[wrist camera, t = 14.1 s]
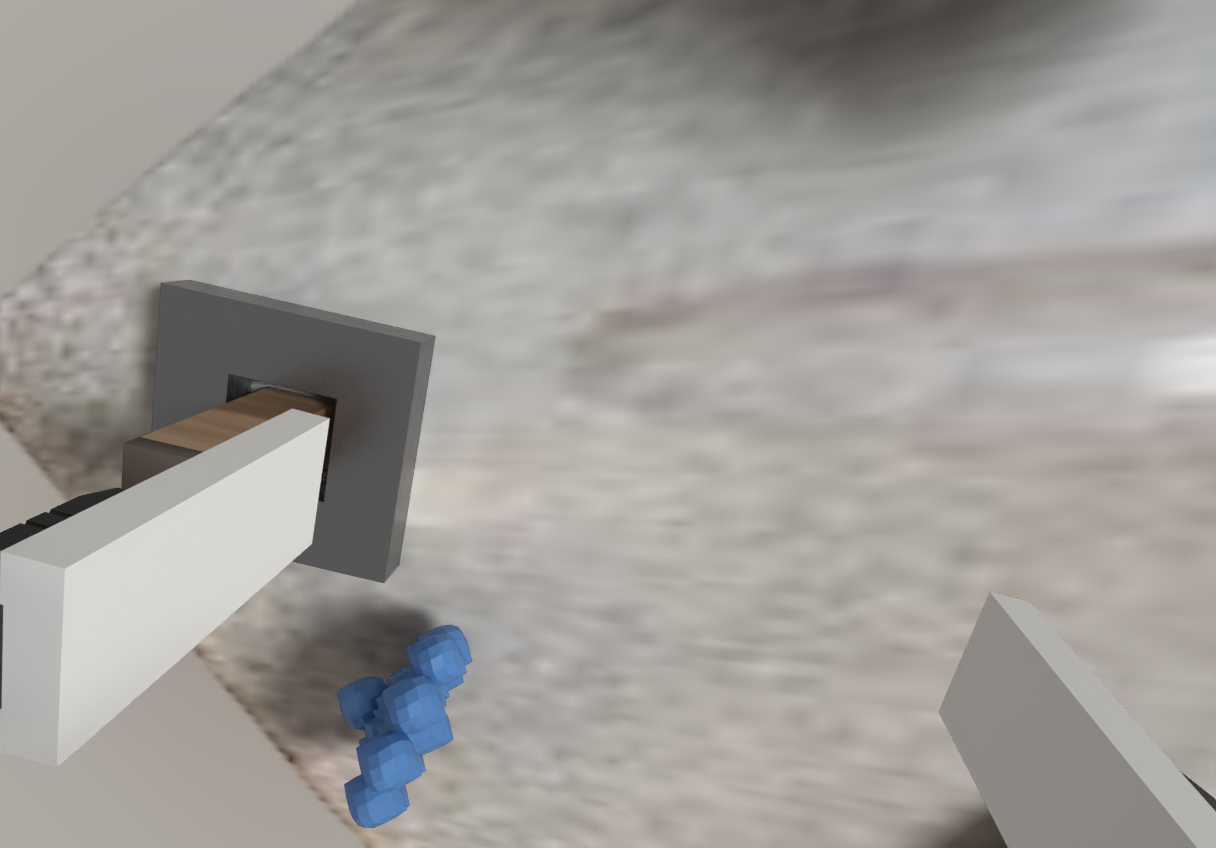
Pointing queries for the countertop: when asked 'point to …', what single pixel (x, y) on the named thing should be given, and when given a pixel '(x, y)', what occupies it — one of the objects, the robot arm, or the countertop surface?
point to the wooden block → (215, 431)
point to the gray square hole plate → (317, 363)
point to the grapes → (401, 723)
